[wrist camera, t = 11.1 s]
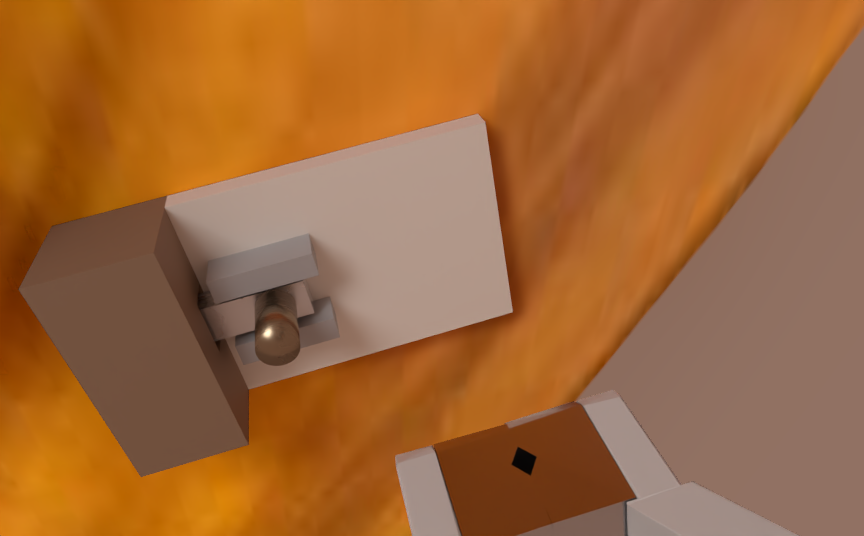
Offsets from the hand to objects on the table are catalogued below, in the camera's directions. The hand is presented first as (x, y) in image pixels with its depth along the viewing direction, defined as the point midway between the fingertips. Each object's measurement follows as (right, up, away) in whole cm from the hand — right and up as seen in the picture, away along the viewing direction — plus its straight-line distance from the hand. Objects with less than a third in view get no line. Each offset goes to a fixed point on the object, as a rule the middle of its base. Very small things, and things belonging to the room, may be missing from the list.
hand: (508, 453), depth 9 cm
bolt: (-14, 0, +32) cm, 35 cm away
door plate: (-9, +3, +34) cm, 35 cm away
